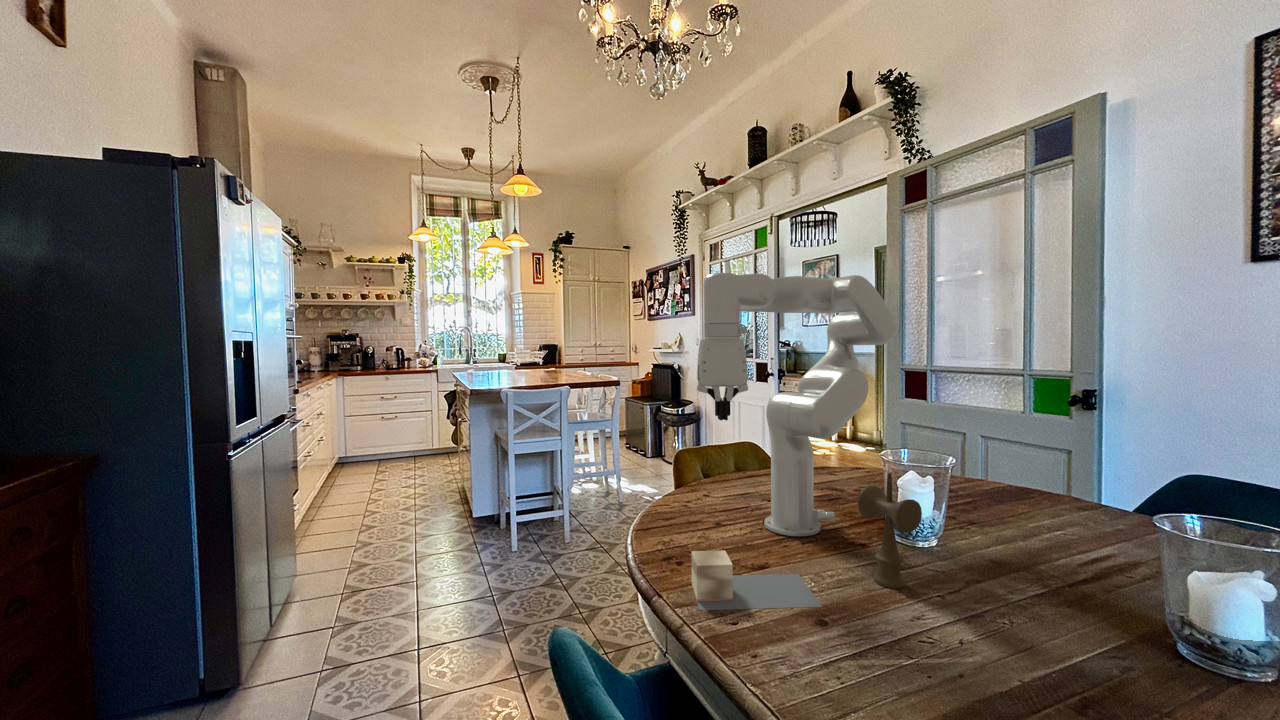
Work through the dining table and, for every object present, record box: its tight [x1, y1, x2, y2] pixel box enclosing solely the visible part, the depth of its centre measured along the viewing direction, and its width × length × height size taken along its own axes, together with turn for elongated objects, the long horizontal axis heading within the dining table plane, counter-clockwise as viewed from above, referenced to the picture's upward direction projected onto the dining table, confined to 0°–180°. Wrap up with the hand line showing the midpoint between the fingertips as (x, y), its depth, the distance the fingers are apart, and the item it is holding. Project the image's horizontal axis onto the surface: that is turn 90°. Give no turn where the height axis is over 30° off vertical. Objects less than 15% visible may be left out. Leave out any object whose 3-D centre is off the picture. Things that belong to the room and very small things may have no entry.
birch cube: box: [691, 549, 734, 602], centre depth 89 cm, size 6×6×6 cm
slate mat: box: [689, 573, 823, 611], centre depth 89 cm, size 20×12×1 cm, turn 92°
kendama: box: [857, 472, 923, 589], centre depth 92 cm, size 6×10×20 cm, turn 20°
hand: (722, 419), depth 109 cm, fingers closed
